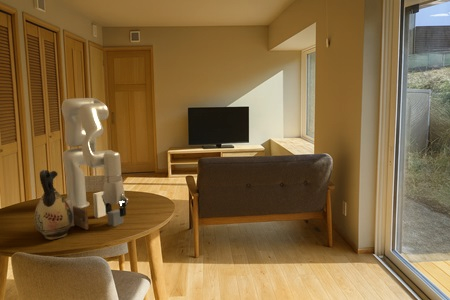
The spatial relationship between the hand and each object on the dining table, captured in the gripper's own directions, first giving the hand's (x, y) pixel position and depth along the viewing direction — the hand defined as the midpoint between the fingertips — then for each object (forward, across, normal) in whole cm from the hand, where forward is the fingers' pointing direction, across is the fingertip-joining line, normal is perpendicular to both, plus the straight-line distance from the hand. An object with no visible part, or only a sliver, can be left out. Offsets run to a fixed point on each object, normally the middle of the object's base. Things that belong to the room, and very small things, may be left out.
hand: (115, 214), depth 203 cm
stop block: (+5, -1, 0) cm, 5 cm away
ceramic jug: (+5, -10, -26) cm, 28 cm away
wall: (+4, -17, -5) cm, 18 cm away
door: (+4, -11, -13) cm, 17 cm away
